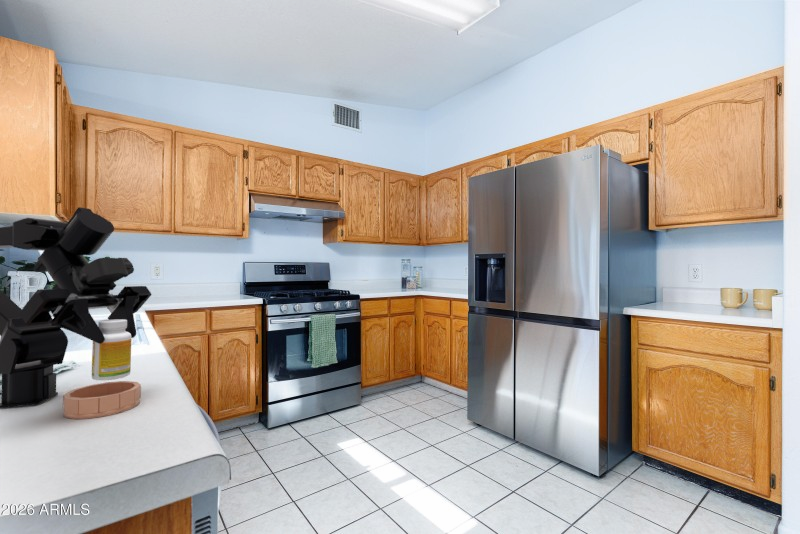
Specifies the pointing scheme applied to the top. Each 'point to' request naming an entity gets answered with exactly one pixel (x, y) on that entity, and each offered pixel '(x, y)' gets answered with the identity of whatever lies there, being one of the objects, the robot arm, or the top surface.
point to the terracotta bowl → (101, 399)
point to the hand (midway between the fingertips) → (118, 338)
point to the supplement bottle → (112, 351)
